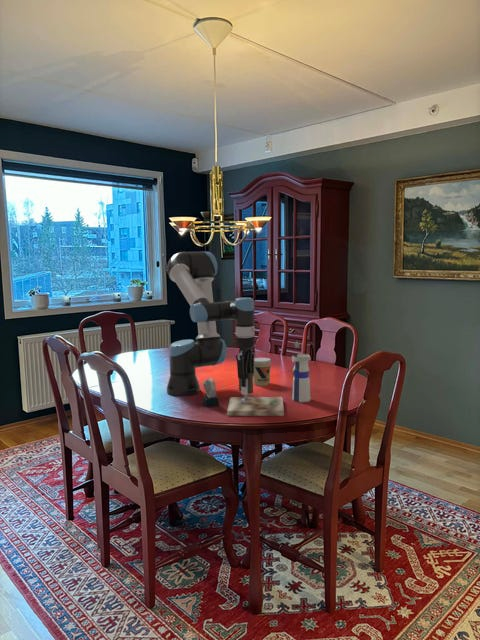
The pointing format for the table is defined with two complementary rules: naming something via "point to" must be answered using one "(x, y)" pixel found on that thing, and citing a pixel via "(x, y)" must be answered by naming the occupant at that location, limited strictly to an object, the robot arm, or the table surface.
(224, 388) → the table surface
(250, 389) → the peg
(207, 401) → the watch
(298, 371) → the water bottle
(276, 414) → the dial board
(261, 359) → the coffee cup
